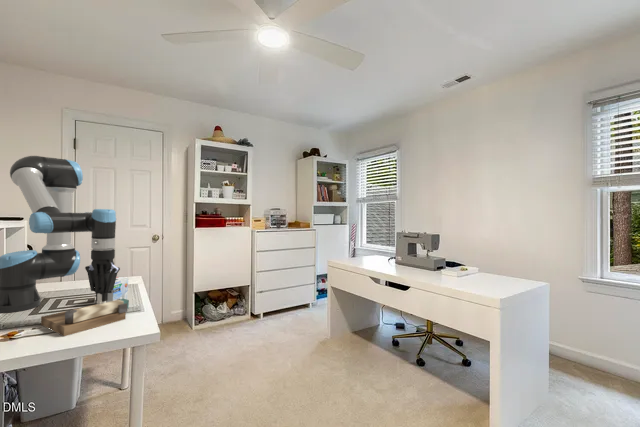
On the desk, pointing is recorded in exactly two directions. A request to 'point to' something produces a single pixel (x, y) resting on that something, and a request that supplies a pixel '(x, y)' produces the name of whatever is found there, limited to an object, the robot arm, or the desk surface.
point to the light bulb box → (119, 289)
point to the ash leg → (93, 311)
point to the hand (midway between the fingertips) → (101, 309)
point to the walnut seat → (59, 326)
